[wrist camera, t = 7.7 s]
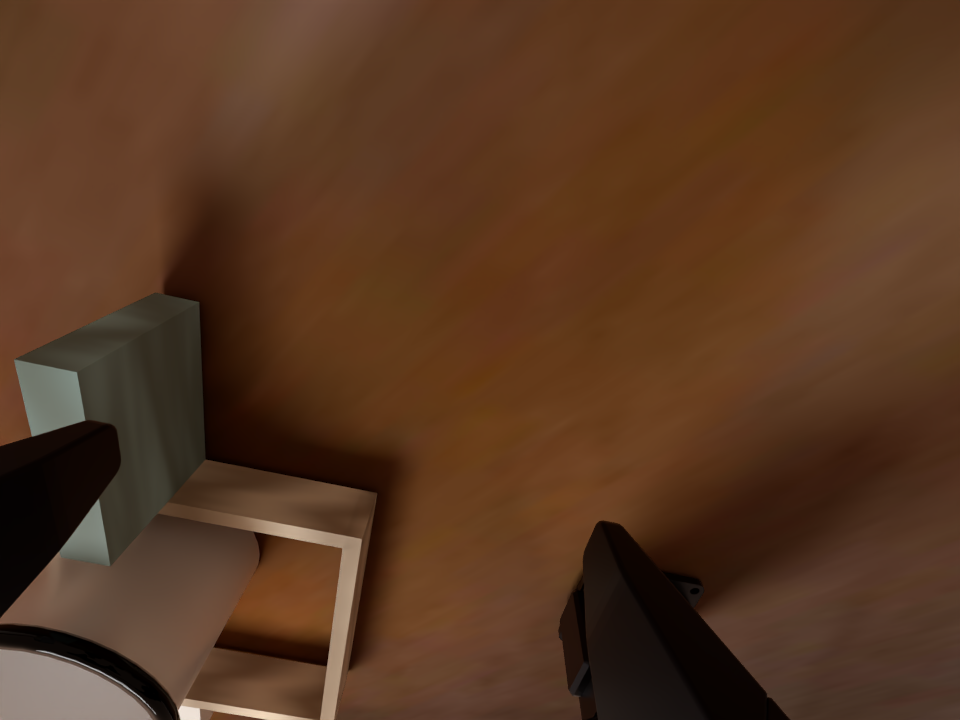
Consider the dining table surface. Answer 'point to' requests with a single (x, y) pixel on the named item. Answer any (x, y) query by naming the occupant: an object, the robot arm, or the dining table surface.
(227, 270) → the dining table surface
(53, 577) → the mug
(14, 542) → the robot arm
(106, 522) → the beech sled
